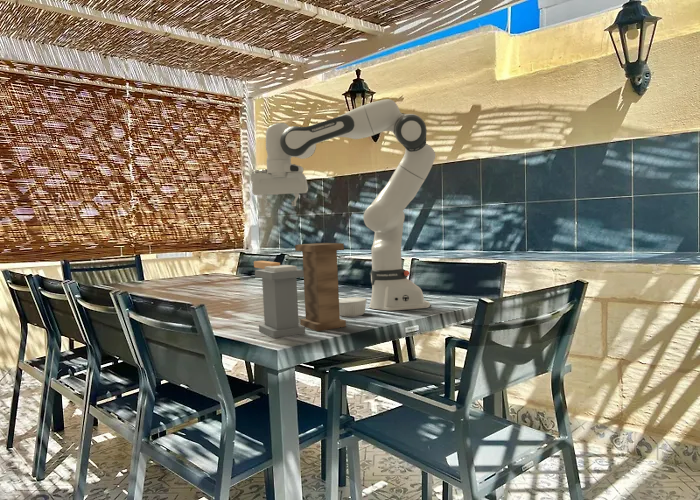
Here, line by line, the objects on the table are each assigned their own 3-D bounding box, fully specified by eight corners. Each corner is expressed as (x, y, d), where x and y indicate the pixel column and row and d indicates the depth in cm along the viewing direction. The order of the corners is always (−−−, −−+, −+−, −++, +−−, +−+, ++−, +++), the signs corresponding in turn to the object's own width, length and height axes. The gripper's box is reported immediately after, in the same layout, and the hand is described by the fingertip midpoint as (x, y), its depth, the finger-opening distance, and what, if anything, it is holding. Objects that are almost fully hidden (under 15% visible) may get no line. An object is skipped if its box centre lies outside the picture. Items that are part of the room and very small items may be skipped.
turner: (248, 267, 177) (247, 261, 177) (268, 266, 180) (268, 260, 180) (274, 272, 157) (274, 265, 157) (296, 270, 160) (296, 263, 160)
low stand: (258, 331, 168) (254, 270, 167) (287, 326, 173) (284, 267, 172) (275, 338, 156) (271, 272, 155) (306, 333, 161) (303, 270, 160)
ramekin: (331, 317, 187) (330, 302, 187) (340, 311, 198) (339, 297, 198) (362, 317, 184) (361, 302, 184) (370, 311, 195) (369, 297, 195)
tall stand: (299, 324, 175) (295, 244, 174) (326, 320, 180) (323, 242, 179) (318, 331, 163) (314, 245, 162) (347, 327, 168) (343, 243, 167)
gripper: (249, 169, 195) (251, 207, 196) (305, 166, 195) (307, 205, 196) (252, 170, 201) (254, 208, 202) (307, 168, 201) (309, 205, 202)
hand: (281, 206), depth 199 cm, fingers open, 8 cm apart
